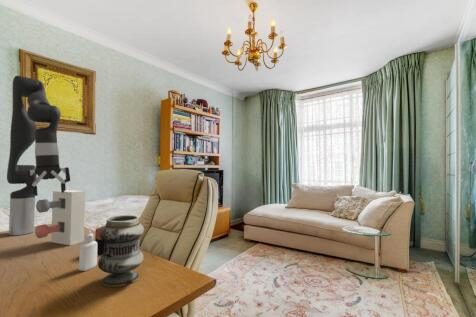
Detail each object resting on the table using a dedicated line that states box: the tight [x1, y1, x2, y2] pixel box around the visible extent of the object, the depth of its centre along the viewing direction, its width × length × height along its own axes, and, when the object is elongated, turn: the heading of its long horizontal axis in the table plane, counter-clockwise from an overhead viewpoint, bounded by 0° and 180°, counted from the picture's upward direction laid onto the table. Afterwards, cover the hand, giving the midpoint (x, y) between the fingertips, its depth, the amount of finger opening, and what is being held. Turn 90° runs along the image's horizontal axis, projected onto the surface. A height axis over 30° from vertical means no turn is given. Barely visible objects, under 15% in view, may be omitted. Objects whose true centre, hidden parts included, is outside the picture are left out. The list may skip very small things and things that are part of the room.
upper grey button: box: [35, 198, 60, 214], centre depth 100 cm, size 7×5×5 cm
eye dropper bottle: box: [78, 230, 98, 272], centre depth 80 cm, size 4×6×12 cm
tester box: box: [50, 189, 86, 246], centre depth 107 cm, size 6×12×22 cm, turn 69°
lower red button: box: [34, 224, 60, 239], centre depth 100 cm, size 7×5×5 cm
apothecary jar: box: [97, 214, 145, 288], centre depth 72 cm, size 12×12×18 cm
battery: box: [94, 225, 105, 256], centre depth 95 cm, size 4×7×10 cm, turn 138°
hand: (49, 193), depth 100 cm, fingers open, 8 cm apart
